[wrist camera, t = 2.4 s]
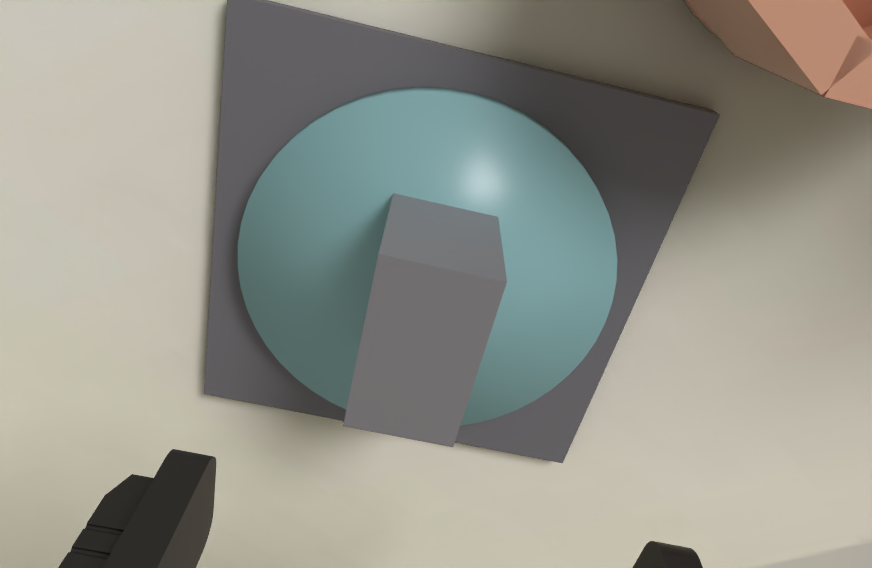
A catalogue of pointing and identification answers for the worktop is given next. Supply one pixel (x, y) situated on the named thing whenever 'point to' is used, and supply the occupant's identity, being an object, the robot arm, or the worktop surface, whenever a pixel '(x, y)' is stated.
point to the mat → (447, 68)
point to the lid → (427, 260)
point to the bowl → (800, 41)
